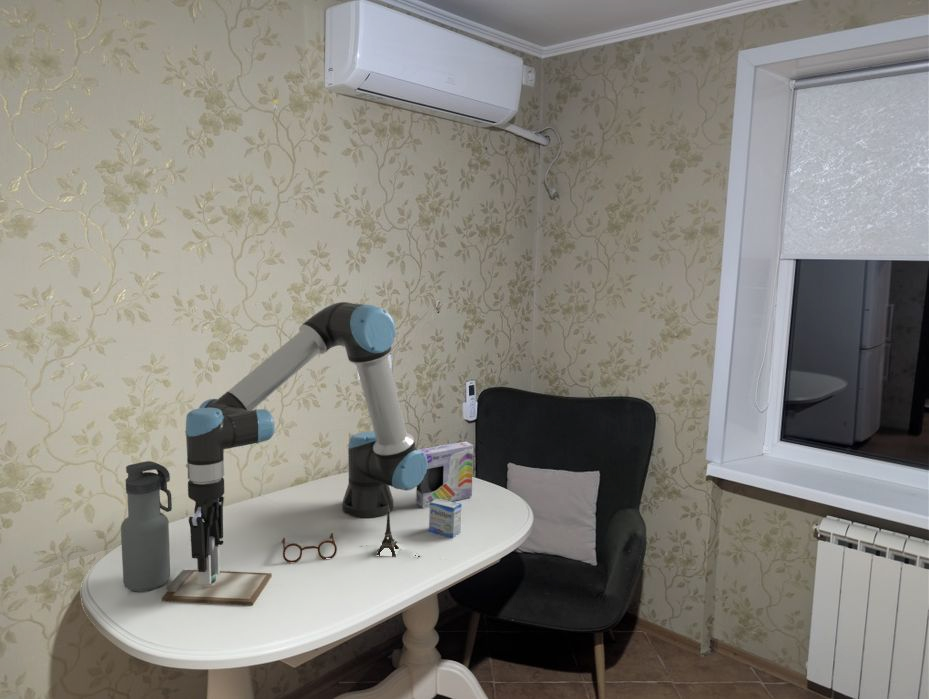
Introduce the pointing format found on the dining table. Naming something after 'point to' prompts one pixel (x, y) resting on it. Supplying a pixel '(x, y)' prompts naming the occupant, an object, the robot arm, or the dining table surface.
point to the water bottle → (146, 528)
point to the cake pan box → (446, 474)
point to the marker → (212, 562)
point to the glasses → (309, 548)
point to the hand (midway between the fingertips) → (208, 578)
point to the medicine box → (445, 518)
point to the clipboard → (217, 588)
